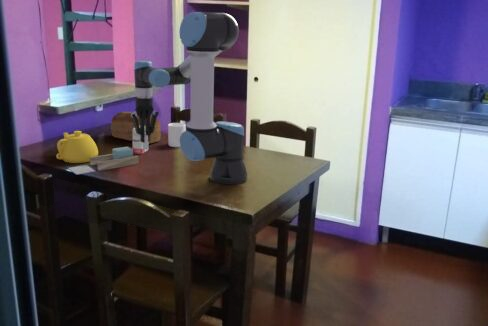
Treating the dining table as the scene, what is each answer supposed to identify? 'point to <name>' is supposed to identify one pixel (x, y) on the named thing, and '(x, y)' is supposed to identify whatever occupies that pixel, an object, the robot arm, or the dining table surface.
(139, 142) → the ink box
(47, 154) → the dining table surface
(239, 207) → the dining table surface
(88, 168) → the pad
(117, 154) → the block
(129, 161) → the chute
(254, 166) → the dining table surface
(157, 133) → the bread
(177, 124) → the mug
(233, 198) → the dining table surface
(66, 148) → the teapot
